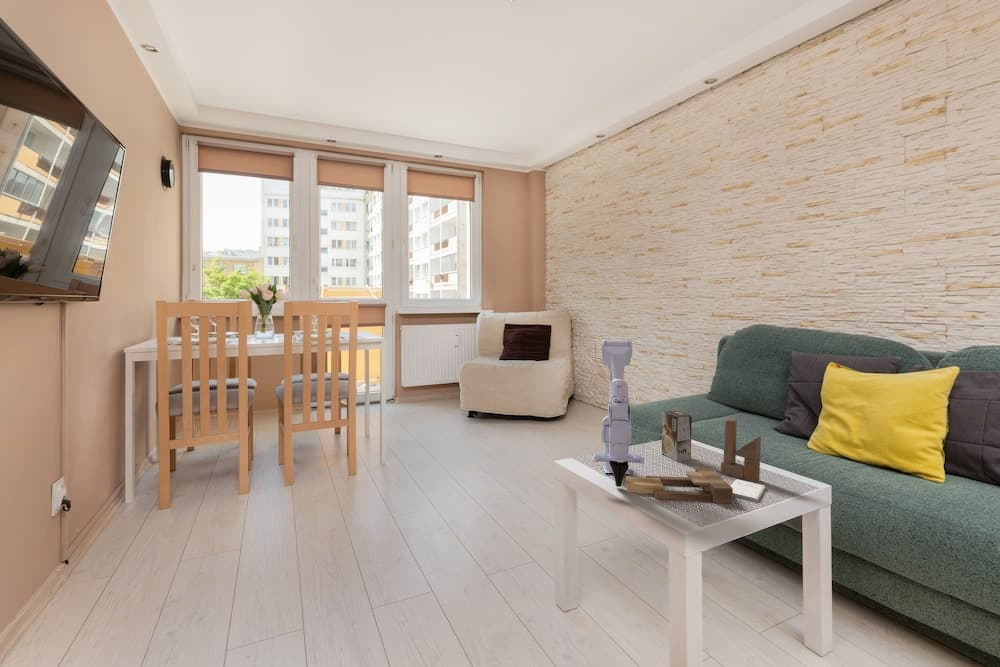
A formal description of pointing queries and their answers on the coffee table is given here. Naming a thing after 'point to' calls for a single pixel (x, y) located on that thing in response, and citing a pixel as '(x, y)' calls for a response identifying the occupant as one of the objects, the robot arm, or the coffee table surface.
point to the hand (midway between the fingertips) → (618, 485)
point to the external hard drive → (747, 490)
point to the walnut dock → (705, 478)
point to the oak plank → (643, 484)
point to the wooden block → (748, 452)
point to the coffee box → (676, 435)
